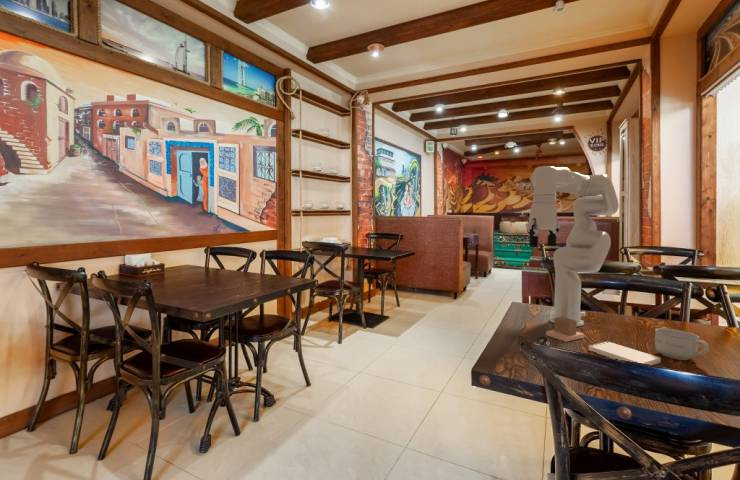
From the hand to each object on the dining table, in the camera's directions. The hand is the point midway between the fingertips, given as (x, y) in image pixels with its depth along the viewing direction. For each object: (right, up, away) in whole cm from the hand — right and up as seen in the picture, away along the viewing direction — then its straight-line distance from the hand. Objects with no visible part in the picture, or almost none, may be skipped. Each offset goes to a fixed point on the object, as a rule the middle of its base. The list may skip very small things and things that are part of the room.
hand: (542, 246), depth 136 cm
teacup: (+33, -35, -22) cm, 53 cm away
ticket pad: (+16, -35, -20) cm, 43 cm away
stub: (+7, -34, -2) cm, 34 cm away
